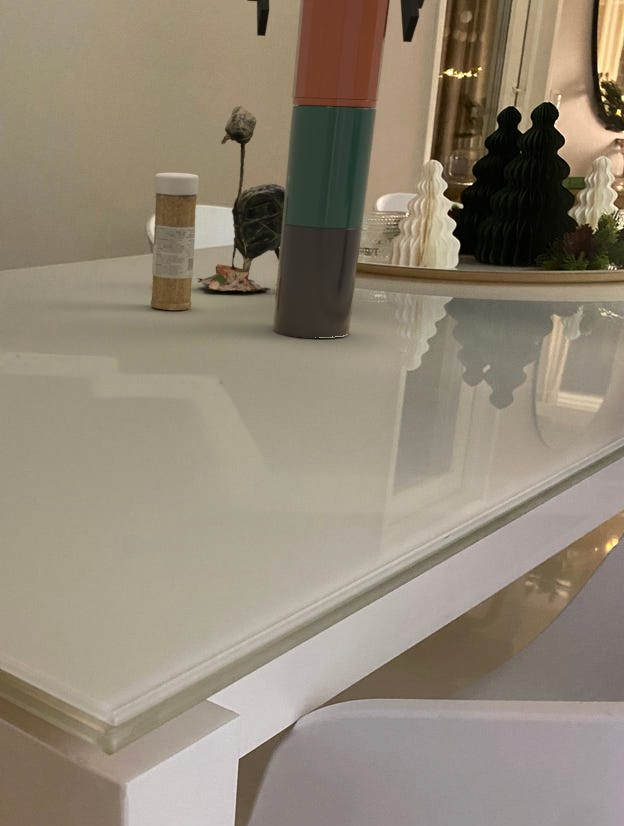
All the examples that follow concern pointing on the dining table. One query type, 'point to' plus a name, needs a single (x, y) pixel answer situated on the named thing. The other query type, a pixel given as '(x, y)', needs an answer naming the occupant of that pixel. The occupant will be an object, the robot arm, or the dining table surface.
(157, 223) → the brown spice jar
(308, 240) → the cup stack
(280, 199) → the plant with pod
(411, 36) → the robot arm
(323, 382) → the dining table surface
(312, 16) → the terracotta cup
